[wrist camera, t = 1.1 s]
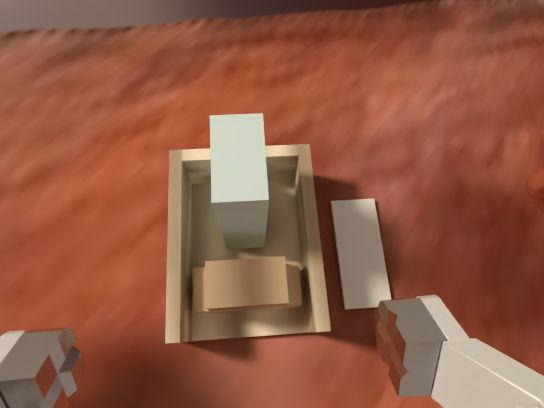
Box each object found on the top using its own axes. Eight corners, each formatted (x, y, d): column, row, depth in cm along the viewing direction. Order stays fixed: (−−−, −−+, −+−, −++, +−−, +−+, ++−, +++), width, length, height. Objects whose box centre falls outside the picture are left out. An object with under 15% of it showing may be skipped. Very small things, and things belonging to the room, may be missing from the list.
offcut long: (199, 314, 38) (193, 311, 34) (199, 274, 39) (193, 268, 35) (297, 307, 38) (302, 304, 35) (294, 268, 40) (298, 261, 36)
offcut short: (209, 310, 34) (205, 308, 31) (209, 267, 35) (205, 261, 32) (286, 305, 34) (288, 302, 32) (282, 262, 36) (284, 256, 33)
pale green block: (227, 249, 40) (211, 202, 26) (225, 188, 42) (209, 115, 28) (264, 247, 40) (268, 199, 26) (260, 187, 43) (262, 113, 28)
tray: (181, 341, 38) (165, 343, 31) (182, 178, 44) (169, 150, 37) (318, 331, 39) (330, 331, 32) (301, 172, 44) (309, 144, 38)
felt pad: (344, 309, 39) (345, 309, 39) (330, 202, 43) (331, 200, 43) (390, 306, 40) (392, 305, 39) (372, 200, 44) (374, 198, 43)
